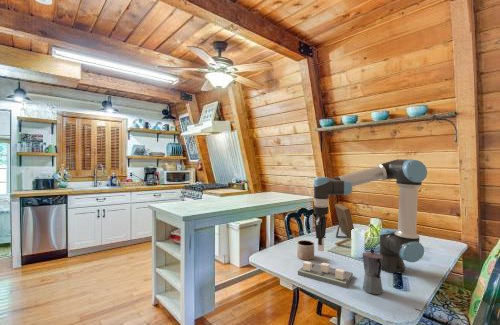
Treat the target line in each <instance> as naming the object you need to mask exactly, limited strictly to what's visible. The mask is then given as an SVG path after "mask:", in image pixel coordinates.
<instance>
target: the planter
mask: <svg viewBox="0 0 500 325" xmlns="http://www.w3.org/2000/svg"><path fill="white" fill-rule="evenodd" d="M296 250H297V258H298V259H300V260H303V261H312V260H313V259H315V243H314V242H313V241H310V240H299V241H297V249H296Z"/></svg>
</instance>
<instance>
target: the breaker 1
mask: <svg viewBox="0 0 500 325" xmlns="http://www.w3.org/2000/svg"><path fill="white" fill-rule="evenodd" d="M312 263H313V262H311V261H309V260H303V262H302V267H303V270H306V271H311V270H312Z"/></svg>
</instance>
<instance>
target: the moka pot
mask: <svg viewBox="0 0 500 325" xmlns="http://www.w3.org/2000/svg"><path fill="white" fill-rule="evenodd" d="M379 254H380V253H376V252H375V250H374V249H370V251H366V252H362V262H363V269H364V270H363V271H364V276H363V283H362V290H363V291H364V292H366V293H368V294H372V295H373V294H374V295H380V294H382V293H383V283H382V276H381V274H382V270H381V268H382V260H383V257H382V255H379Z"/></svg>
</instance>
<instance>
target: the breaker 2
mask: <svg viewBox="0 0 500 325" xmlns="http://www.w3.org/2000/svg"><path fill="white" fill-rule="evenodd" d="M335 269H336V270H335V278H337V279H341V280H343V279H344V278H345V271H346V270H344V269H341V268H335Z"/></svg>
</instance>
